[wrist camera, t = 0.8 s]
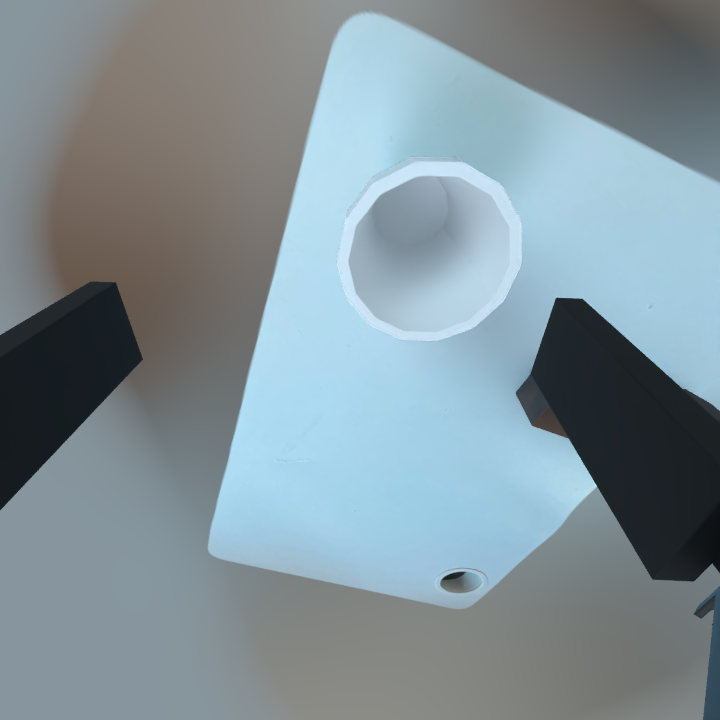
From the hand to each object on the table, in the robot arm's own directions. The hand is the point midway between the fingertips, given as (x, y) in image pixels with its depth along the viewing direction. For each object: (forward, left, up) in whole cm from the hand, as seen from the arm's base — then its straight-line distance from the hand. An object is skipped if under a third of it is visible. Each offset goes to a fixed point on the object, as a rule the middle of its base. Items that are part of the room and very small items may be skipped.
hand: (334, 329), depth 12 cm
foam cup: (-1, +4, -22) cm, 22 cm away
